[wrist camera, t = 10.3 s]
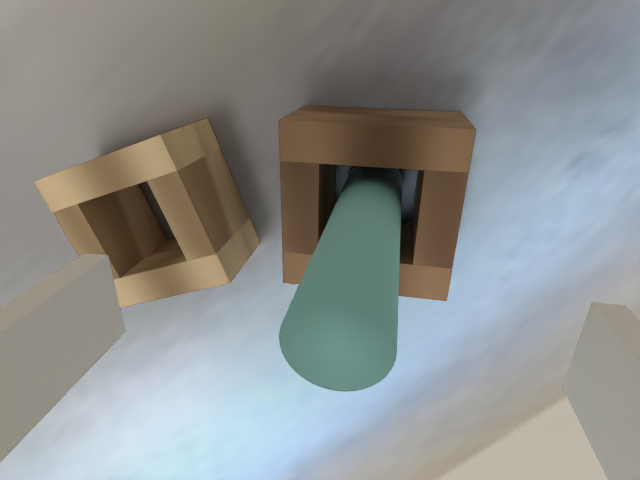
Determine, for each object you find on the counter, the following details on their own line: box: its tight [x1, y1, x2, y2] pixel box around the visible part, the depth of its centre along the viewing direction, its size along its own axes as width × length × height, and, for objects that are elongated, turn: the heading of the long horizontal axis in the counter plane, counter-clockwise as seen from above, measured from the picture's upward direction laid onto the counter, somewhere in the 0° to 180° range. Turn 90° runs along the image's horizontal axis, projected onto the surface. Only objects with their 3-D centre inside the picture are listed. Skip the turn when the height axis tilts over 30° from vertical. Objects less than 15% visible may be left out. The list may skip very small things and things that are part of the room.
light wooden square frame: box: [34, 118, 260, 308], centre depth 23 cm, size 8×8×5 cm
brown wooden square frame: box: [279, 106, 476, 301], centre depth 21 cm, size 8×8×5 cm
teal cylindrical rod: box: [279, 166, 402, 391], centre depth 17 cm, size 3×3×14 cm
